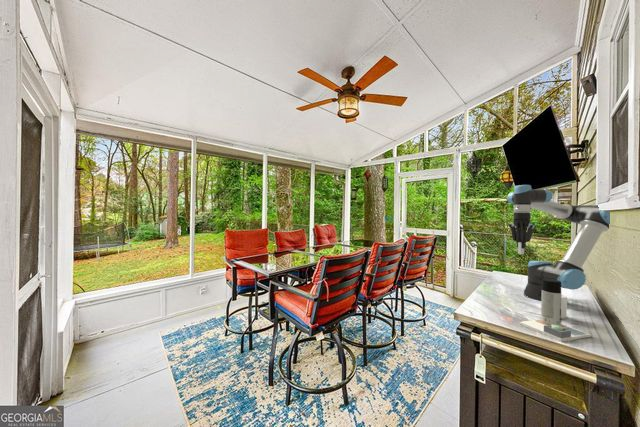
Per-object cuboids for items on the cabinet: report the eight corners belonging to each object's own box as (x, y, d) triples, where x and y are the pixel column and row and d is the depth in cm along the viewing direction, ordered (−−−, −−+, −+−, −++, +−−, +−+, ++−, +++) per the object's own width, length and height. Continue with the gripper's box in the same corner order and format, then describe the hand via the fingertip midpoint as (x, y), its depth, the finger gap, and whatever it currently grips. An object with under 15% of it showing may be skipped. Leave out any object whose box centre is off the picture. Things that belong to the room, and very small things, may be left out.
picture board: (546, 320, 118) (547, 313, 118) (591, 336, 103) (591, 328, 103) (519, 324, 113) (519, 316, 113) (561, 341, 98) (561, 332, 98)
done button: (554, 331, 104) (555, 324, 104) (565, 335, 101) (565, 327, 101) (548, 331, 103) (549, 324, 103) (559, 336, 100) (559, 328, 100)
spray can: (564, 327, 108) (565, 282, 108) (544, 324, 111) (545, 281, 111) (556, 321, 114) (557, 279, 114) (537, 319, 117) (538, 277, 117)
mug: (540, 316, 123) (540, 295, 123) (545, 310, 131) (545, 290, 131) (564, 322, 117) (564, 300, 117) (567, 316, 124) (568, 295, 124)
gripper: (505, 212, 143) (504, 252, 143) (529, 212, 130) (528, 256, 130) (514, 212, 145) (514, 252, 145) (539, 212, 132) (538, 255, 132)
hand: (521, 253), depth 138 cm, fingers closed
